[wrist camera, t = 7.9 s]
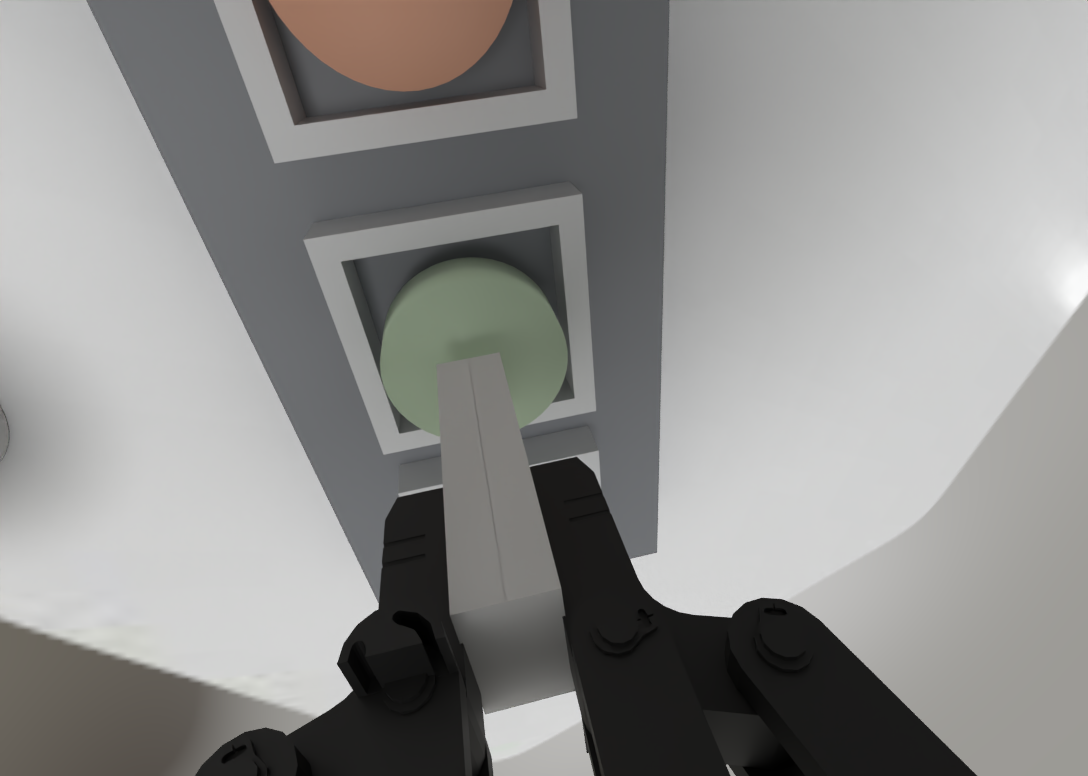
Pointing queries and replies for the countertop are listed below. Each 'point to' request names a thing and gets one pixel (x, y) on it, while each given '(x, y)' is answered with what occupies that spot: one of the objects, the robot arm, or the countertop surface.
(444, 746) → the robot arm
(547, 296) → the panel
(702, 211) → the countertop surface
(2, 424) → the coffee cup
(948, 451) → the countertop surface
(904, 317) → the countertop surface
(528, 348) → the button sage
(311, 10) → the button terracotta
